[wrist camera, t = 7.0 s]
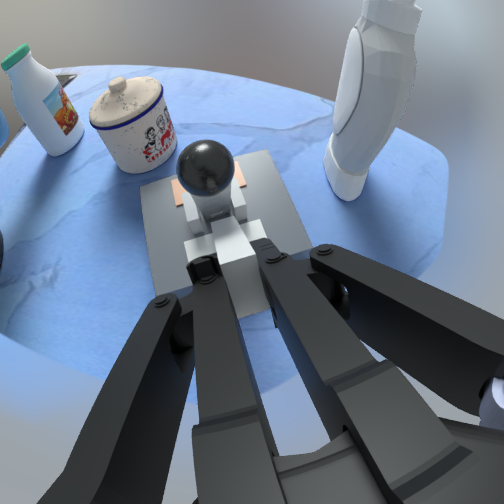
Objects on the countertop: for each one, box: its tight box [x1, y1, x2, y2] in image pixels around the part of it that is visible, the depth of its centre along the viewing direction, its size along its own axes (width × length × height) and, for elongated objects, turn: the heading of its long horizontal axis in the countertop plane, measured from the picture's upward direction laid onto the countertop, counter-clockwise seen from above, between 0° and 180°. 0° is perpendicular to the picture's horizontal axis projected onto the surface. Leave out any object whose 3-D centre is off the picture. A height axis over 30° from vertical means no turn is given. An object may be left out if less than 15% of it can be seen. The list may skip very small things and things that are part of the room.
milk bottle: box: [1, 43, 84, 157], centre depth 27 cm, size 8×8×20 cm
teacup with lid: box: [89, 77, 177, 174], centre depth 28 cm, size 12×9×12 cm
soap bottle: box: [323, 0, 422, 201], centre depth 20 cm, size 13×8×24 cm, turn 173°
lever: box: [176, 140, 235, 220], centre depth 19 cm, size 3×3×13 cm
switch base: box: [140, 149, 313, 300], centre depth 26 cm, size 12×14×5 cm
